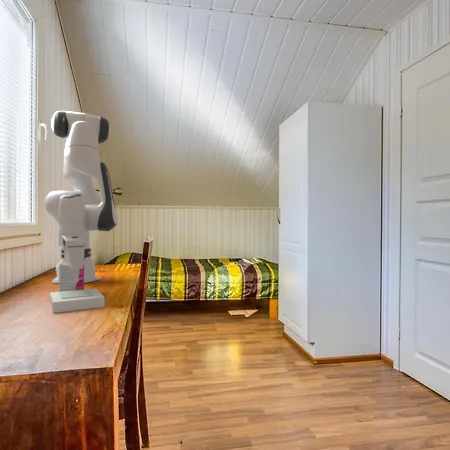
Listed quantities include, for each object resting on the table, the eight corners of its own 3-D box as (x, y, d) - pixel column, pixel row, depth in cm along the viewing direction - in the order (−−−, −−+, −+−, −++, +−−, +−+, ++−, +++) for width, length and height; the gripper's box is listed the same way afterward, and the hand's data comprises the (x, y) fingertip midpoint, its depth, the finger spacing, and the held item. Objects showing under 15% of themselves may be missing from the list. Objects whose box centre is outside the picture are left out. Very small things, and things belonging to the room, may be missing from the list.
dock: (49, 301, 115) (49, 291, 115) (95, 296, 121) (95, 287, 121) (52, 312, 100) (52, 301, 100) (104, 306, 107) (104, 296, 107)
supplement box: (74, 298, 119) (73, 264, 118) (58, 297, 120) (58, 264, 120) (84, 295, 124) (84, 262, 124) (69, 294, 126) (69, 262, 125)
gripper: (59, 240, 130) (60, 277, 130) (66, 241, 112) (67, 285, 112) (78, 239, 133) (78, 276, 133) (87, 240, 115) (88, 283, 115)
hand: (73, 280), depth 122 cm, fingers open, 8 cm apart
